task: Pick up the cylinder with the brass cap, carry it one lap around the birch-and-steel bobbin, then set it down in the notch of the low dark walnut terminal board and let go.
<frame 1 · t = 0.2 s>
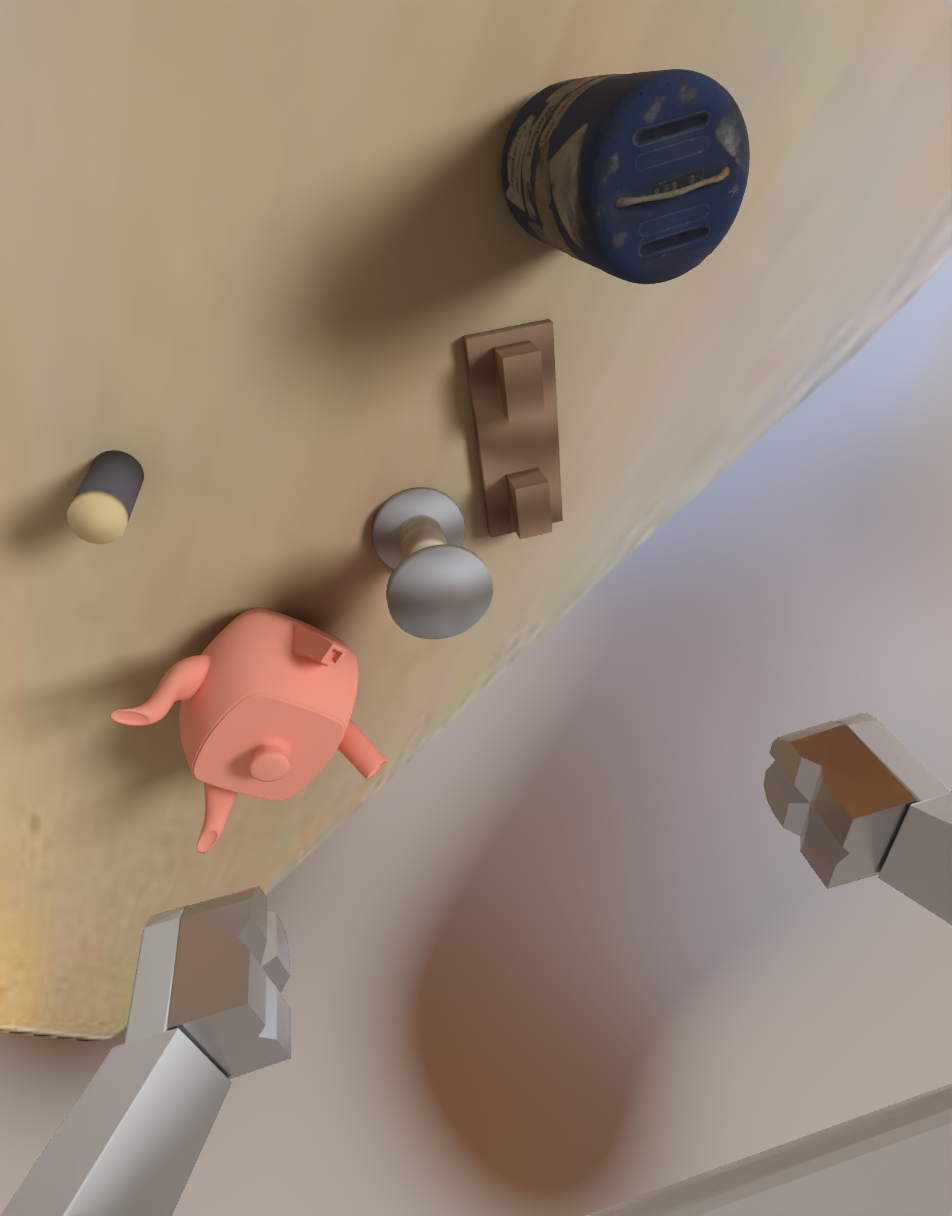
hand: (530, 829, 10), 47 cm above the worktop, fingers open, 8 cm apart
canister: (559, 166, 47), on the worktop
board: (516, 434, 58), on the worktop
teapot: (265, 665, 66), on the worktop
bobbin: (418, 529, 61), on the worktop
cylinder: (118, 472, 52), on the worktop
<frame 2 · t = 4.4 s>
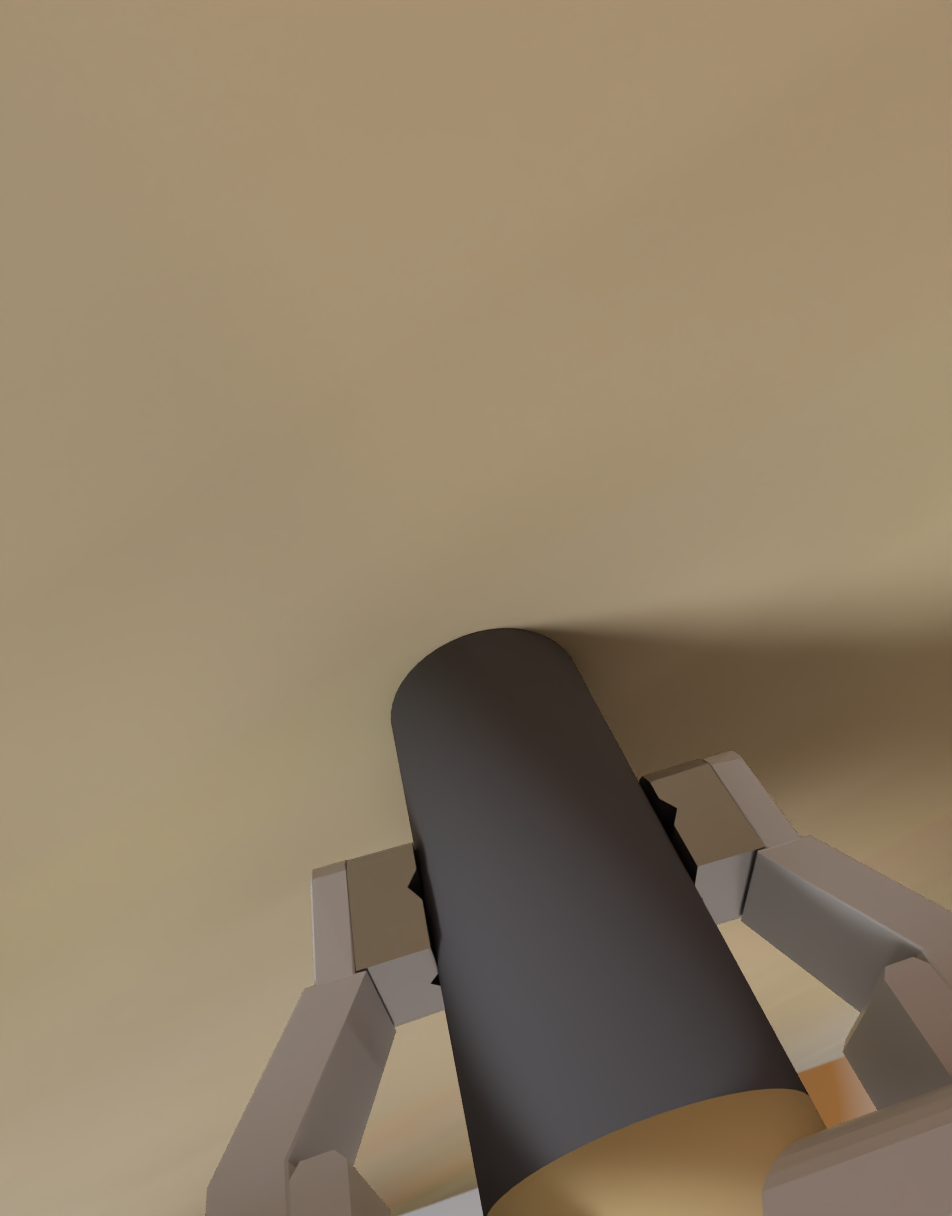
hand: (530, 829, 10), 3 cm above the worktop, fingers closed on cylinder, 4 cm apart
cylinder: (487, 706, 12), on the worktop, touching gripper
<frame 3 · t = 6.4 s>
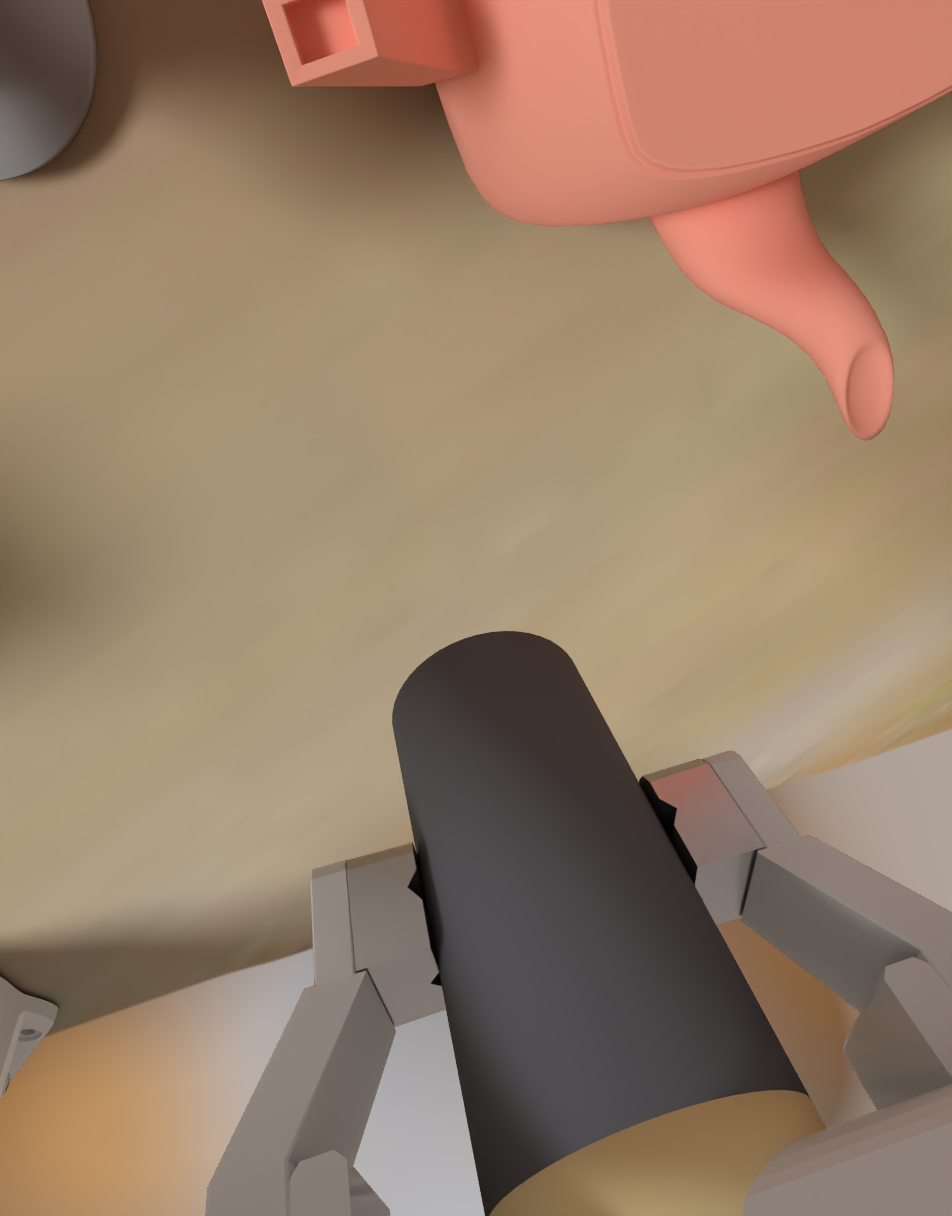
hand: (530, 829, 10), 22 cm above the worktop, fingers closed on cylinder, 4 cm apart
cylinder: (488, 708, 12), point 19 cm above the worktop, touching gripper
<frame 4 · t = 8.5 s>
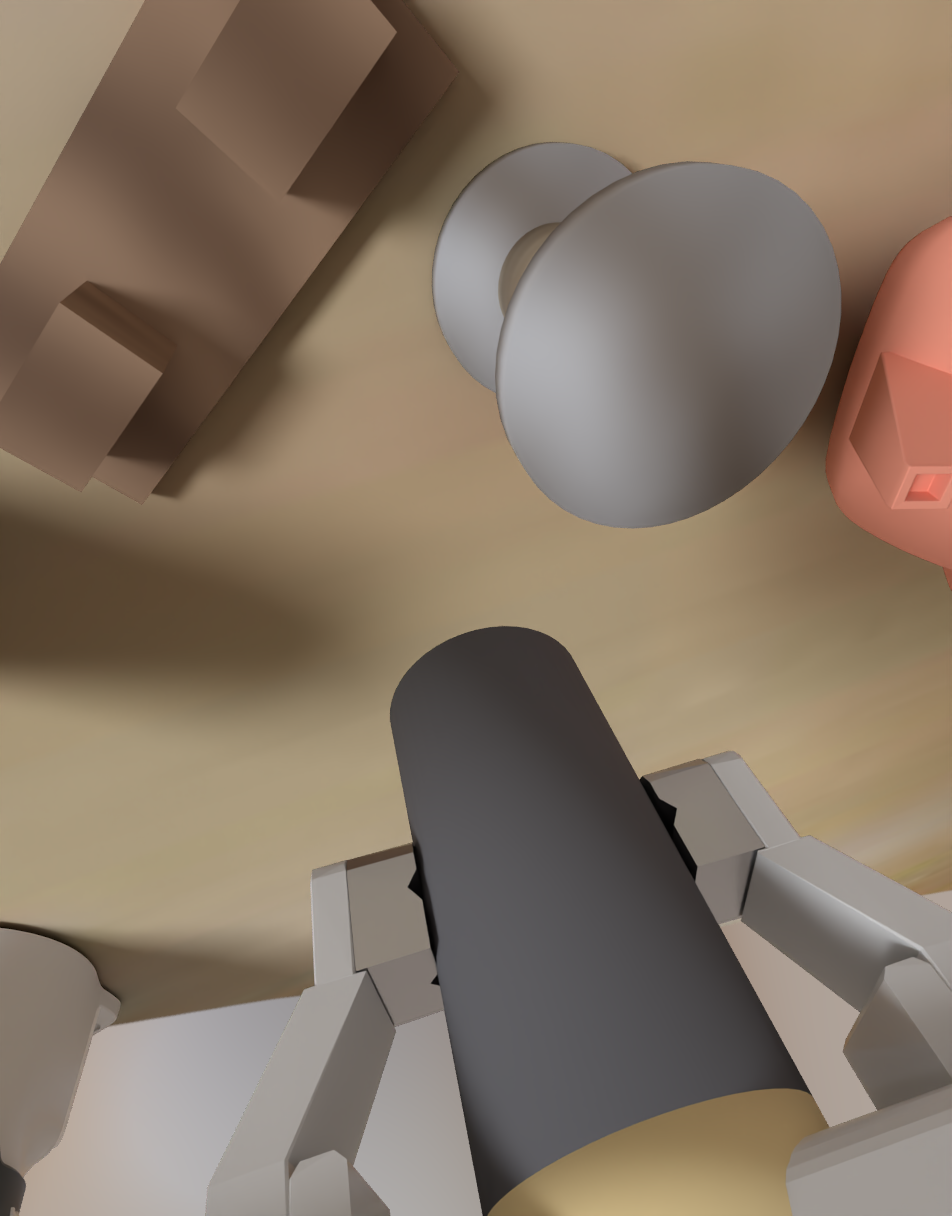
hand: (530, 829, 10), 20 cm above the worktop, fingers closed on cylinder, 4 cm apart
board: (187, 232, 22), on the worktop
bobbin: (544, 280, 25), on the worktop
cylinder: (486, 704, 12), point 17 cm above the worktop, touching gripper
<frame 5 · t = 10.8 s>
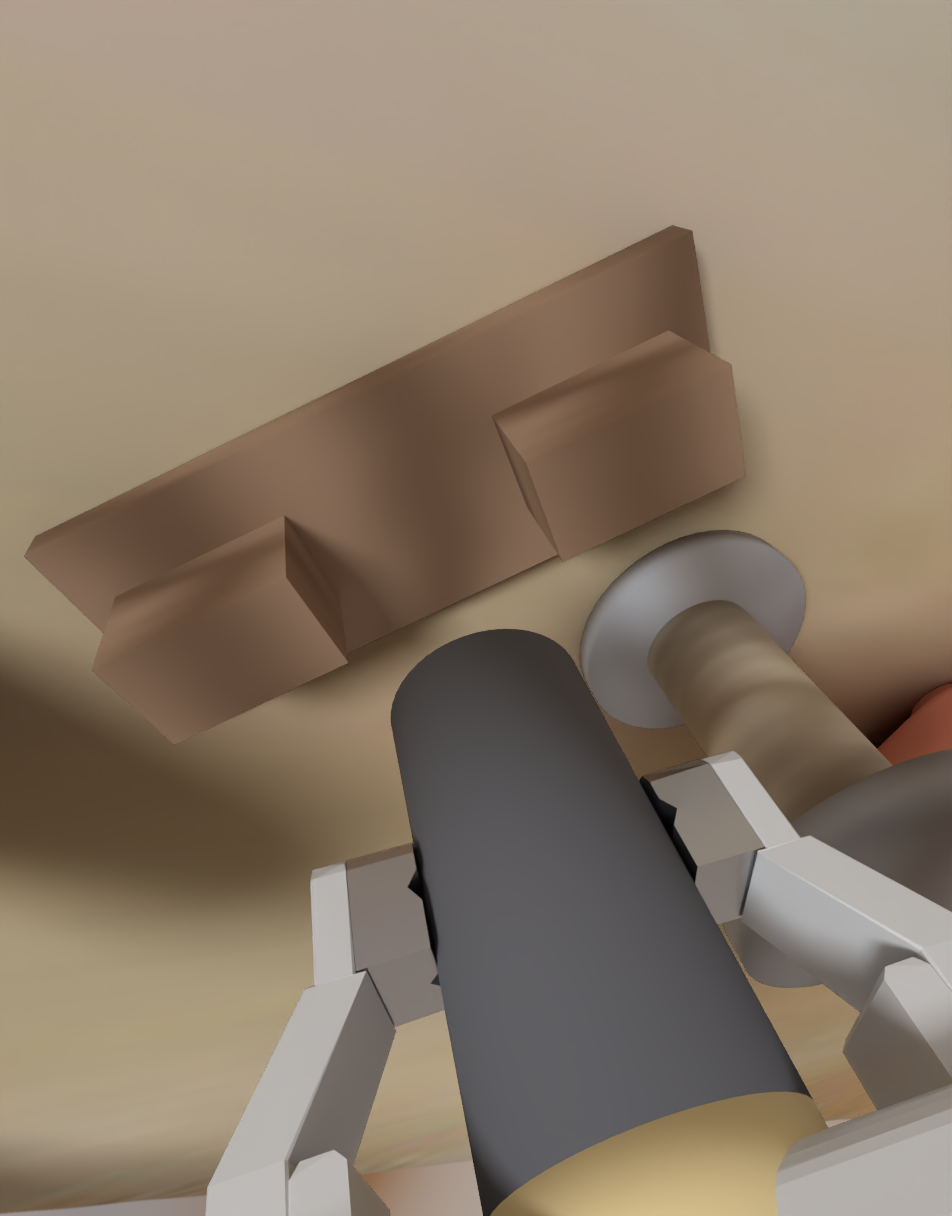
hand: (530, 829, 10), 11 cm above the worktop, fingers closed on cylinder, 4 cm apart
board: (405, 495, 19), on the worktop
teapot: (929, 759, 36), on the worktop
bobbin: (685, 628, 25), on the worktop
cylinder: (487, 706, 12), point 9 cm above the worktop, touching gripper
when the fingers open (5 cm above the worktop, at t = 12.8 s): cylinder drops 1 cm, resting on board.
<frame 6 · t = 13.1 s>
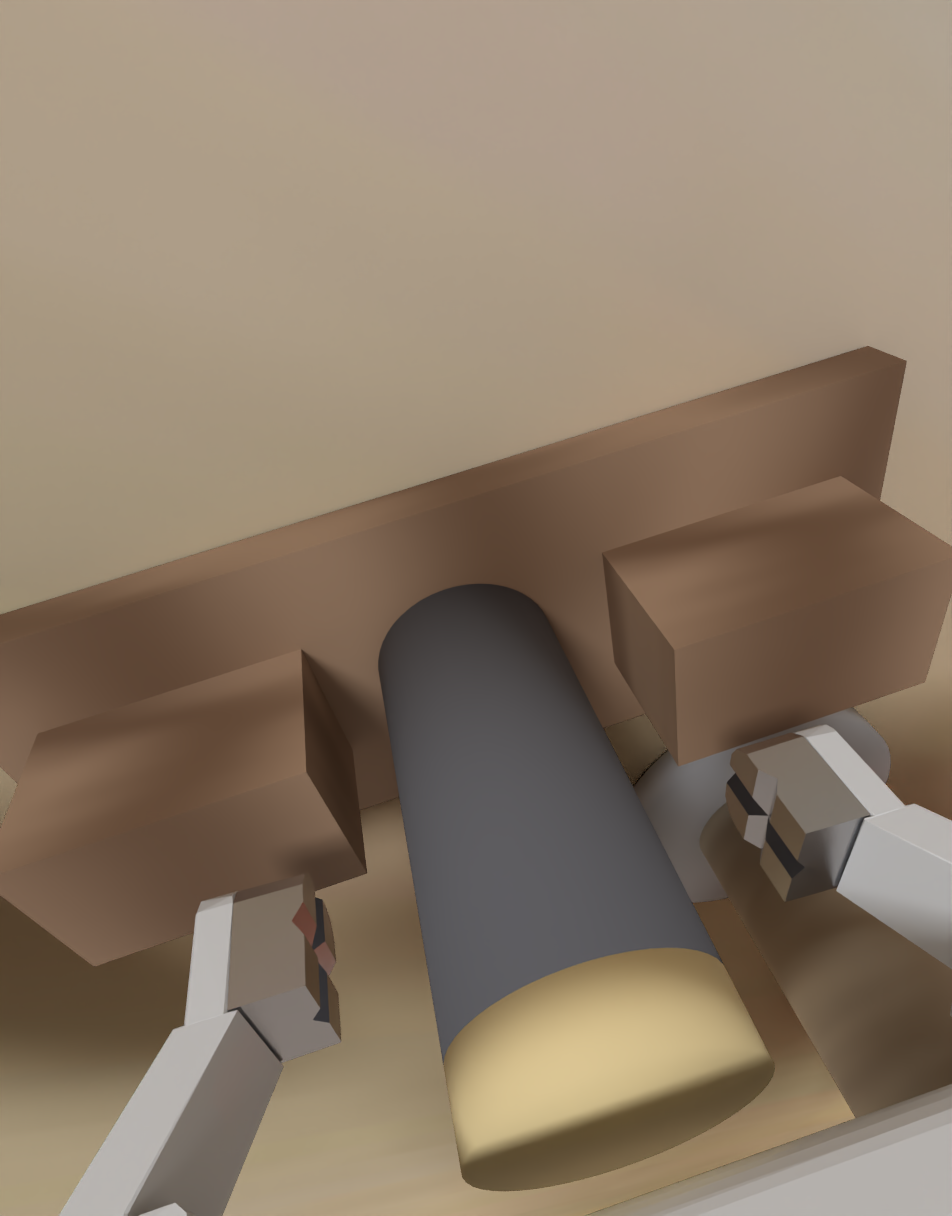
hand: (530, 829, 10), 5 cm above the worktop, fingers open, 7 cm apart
board: (459, 627, 14), on the worktop
bobbin: (743, 794, 21), on the worktop
cylinder: (467, 657, 14), point 1 cm above the worktop, touching board
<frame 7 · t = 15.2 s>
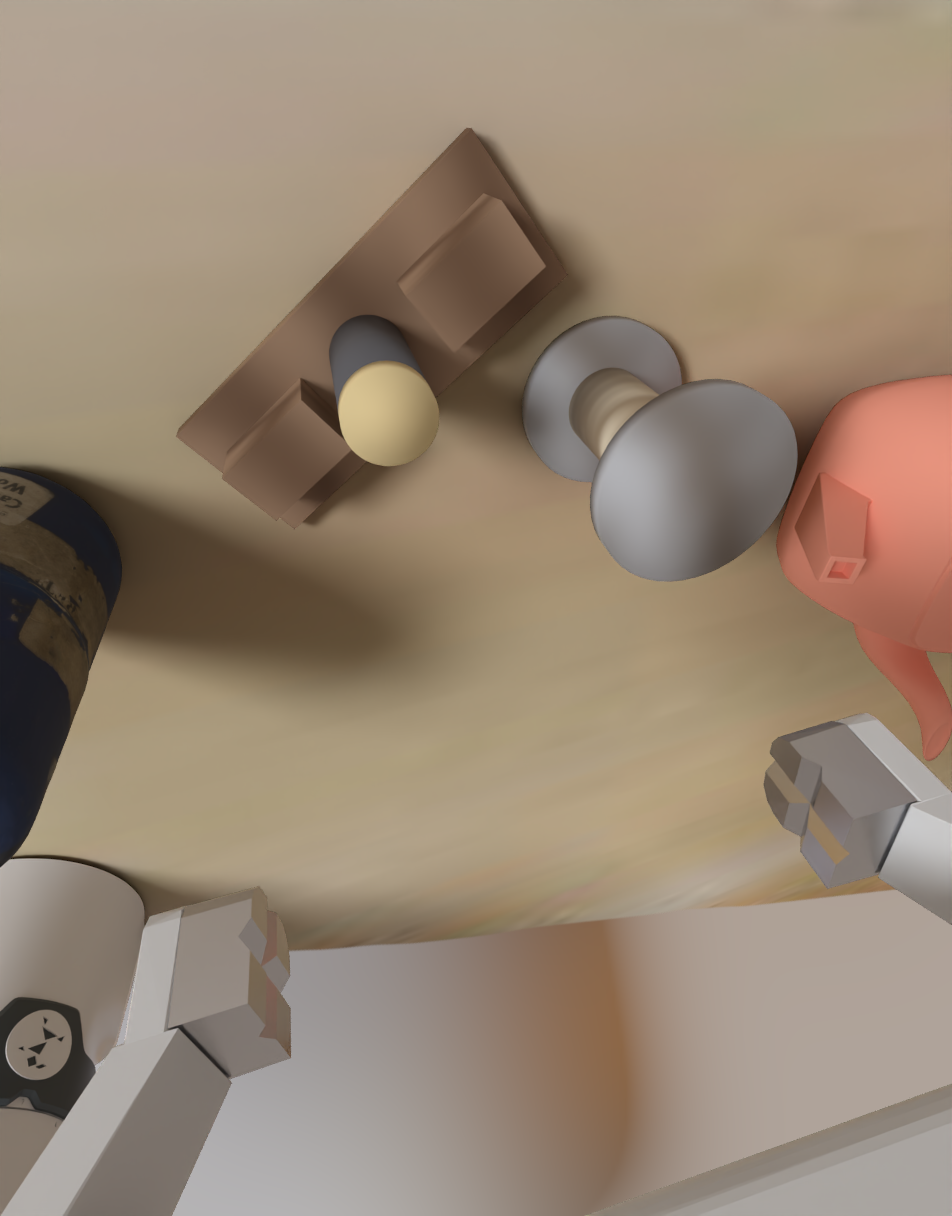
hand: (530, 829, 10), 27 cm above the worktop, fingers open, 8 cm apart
canister: (22, 542, 33), on the worktop
board: (368, 350, 31), on the worktop
teapot: (879, 474, 43), on the worktop
bobbin: (598, 400, 35), on the worktop
cylinder: (369, 356, 30), point 1 cm above the worktop, touching board
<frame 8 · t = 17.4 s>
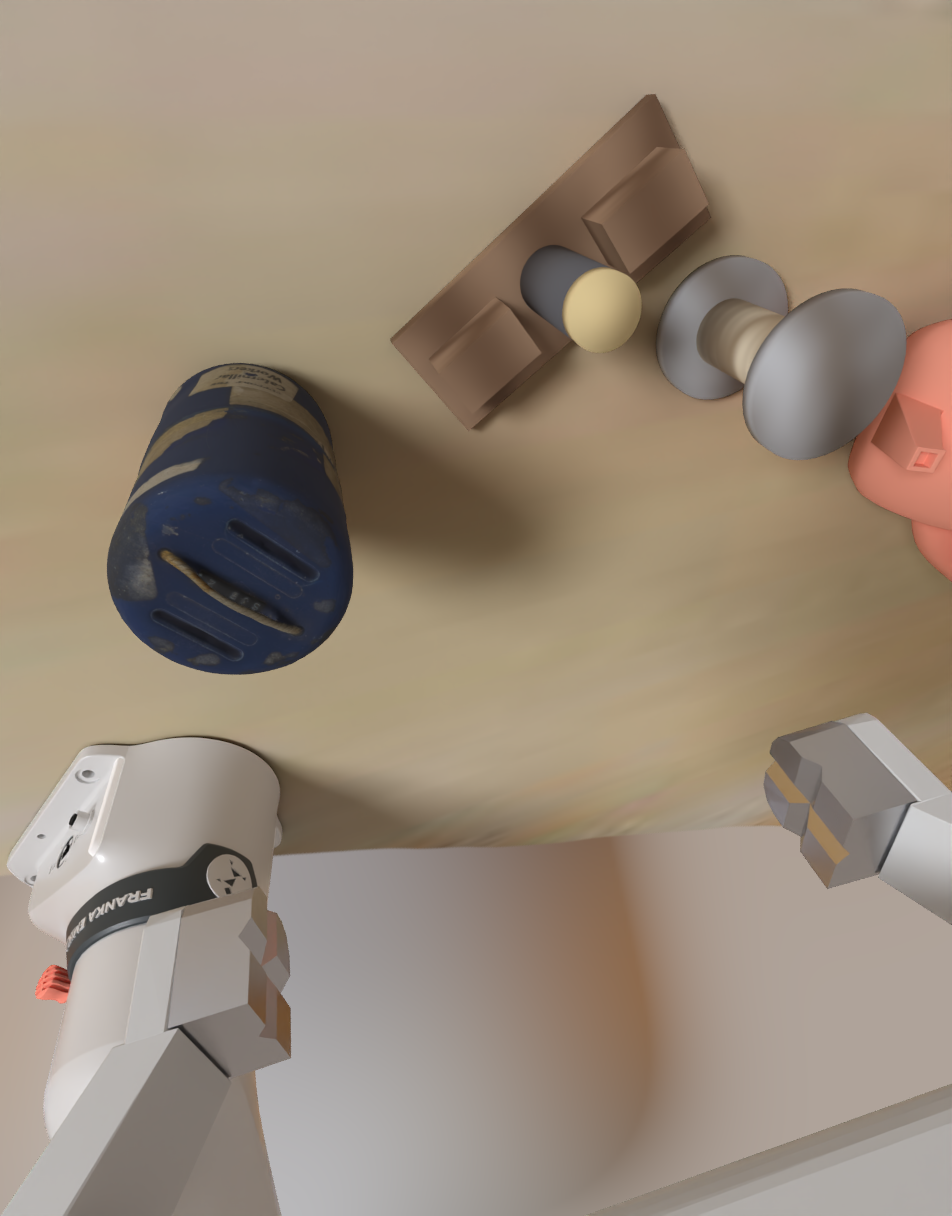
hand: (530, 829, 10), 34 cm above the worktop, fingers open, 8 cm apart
canister: (249, 436, 40), on the worktop
board: (546, 277, 38), on the worktop
teapot: (933, 406, 51), on the worktop
bobbin: (717, 328, 43), on the worktop
cylinder: (550, 280, 38), point 1 cm above the worktop, touching board
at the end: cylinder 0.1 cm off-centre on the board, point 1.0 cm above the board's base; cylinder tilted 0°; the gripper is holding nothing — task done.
